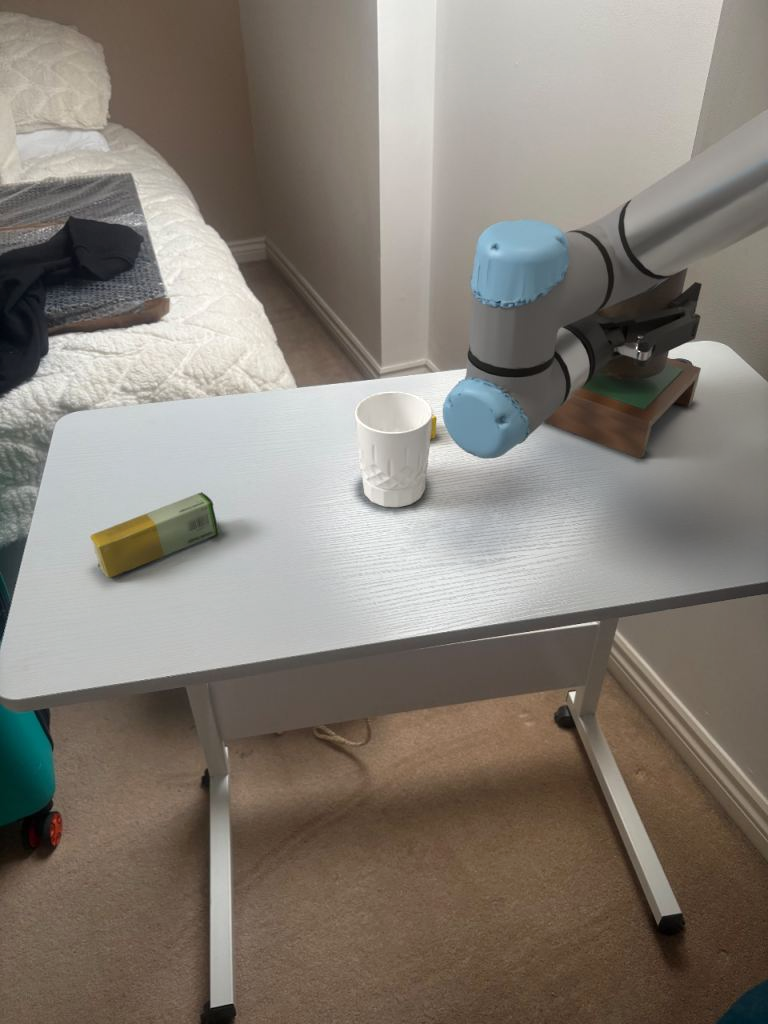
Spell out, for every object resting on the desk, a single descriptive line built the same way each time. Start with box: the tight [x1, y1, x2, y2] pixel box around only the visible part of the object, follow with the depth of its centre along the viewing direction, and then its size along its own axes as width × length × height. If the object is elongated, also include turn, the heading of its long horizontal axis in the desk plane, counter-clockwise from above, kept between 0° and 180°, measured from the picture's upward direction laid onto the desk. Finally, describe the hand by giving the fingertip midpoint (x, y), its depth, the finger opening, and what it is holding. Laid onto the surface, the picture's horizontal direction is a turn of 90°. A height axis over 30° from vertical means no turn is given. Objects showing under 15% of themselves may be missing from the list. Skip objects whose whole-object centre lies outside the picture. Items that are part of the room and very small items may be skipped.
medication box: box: [89, 491, 220, 579], centre depth 82 cm, size 12×3×4 cm, turn 126°
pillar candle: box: [594, 267, 689, 380], centre depth 93 cm, size 10×10×15 cm
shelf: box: [543, 357, 702, 459], centre depth 100 cm, size 14×15×7 cm
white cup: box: [354, 391, 433, 508], centre depth 88 cm, size 8×8×10 cm
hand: (652, 282), depth 96 cm, fingers closed on pillar candle, 10 cm apart
